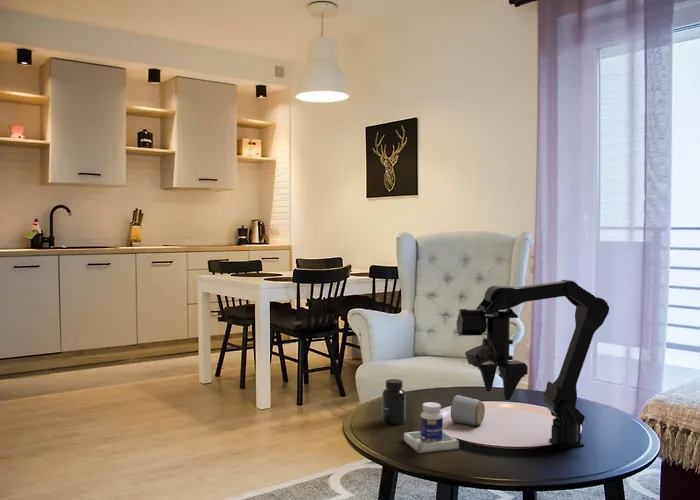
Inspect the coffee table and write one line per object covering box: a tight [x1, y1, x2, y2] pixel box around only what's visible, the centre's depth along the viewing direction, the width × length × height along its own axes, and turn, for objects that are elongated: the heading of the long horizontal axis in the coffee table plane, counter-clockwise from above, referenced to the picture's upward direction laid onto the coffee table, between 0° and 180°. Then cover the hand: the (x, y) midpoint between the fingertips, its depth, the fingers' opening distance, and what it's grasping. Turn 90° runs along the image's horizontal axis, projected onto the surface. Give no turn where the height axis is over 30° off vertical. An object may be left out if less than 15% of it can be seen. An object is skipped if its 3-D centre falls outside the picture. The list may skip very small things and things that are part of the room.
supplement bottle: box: [381, 378, 407, 426], centre depth 182 cm, size 7×7×12 cm
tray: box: [403, 429, 460, 454], centre depth 162 cm, size 11×10×2 cm
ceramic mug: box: [450, 394, 486, 426], centre depth 181 cm, size 11×8×8 cm
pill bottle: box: [419, 401, 444, 444], centre depth 162 cm, size 6×6×10 cm
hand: (497, 395), depth 161 cm, fingers open, 9 cm apart
